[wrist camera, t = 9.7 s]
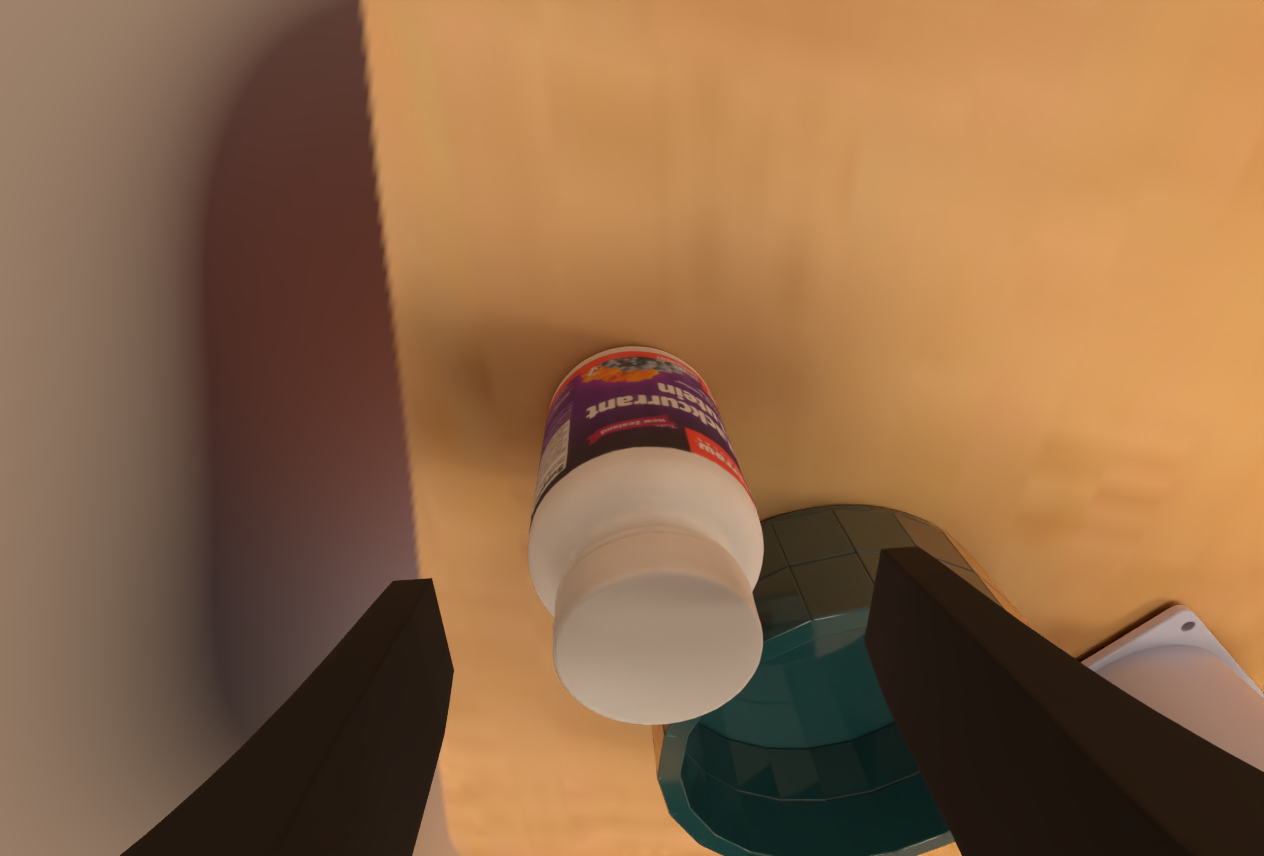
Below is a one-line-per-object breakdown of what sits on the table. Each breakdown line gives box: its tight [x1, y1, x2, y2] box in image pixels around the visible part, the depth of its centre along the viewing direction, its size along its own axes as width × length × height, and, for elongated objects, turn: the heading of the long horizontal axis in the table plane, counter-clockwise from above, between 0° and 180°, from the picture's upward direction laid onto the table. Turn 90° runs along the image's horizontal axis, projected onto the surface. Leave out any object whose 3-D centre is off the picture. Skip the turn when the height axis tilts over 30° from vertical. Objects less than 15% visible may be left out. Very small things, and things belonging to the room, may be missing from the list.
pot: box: [652, 505, 1032, 856], centre depth 23 cm, size 14×14×5 cm
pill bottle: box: [528, 346, 764, 725], centre depth 16 cm, size 5×5×10 cm
